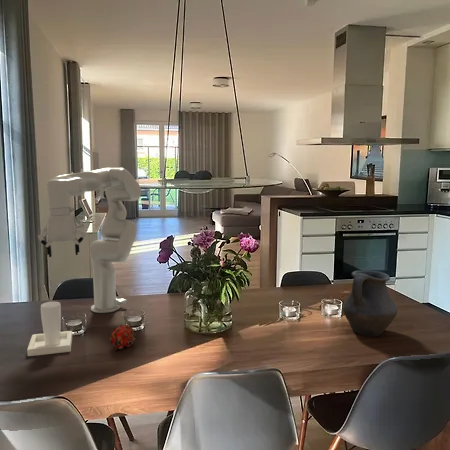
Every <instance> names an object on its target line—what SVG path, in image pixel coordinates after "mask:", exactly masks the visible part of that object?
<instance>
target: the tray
mask: <svg viewBox="0 0 450 450" xmlns="http://www.w3.org/2000/svg"><path fill="white" fill-rule="evenodd" d="M60 339H61V342H60V344H58V345H51V346H46V345H45V338H44V332H43V333H35V334H32V335H31V338H30V341H29V343H28V347H27V357H33V356H45V355H50V354H51V355H53V354H60V353H71V351H72V344H73V343H72V342H73V330H67V331H66V330H65V331H61V332H60Z"/></svg>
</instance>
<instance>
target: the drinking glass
mask: <svg viewBox="0 0 450 450" xmlns="http://www.w3.org/2000/svg"><path fill="white" fill-rule="evenodd" d="M40 317H41V325H42V330H43V333H44V338H45V345H46V346H51V345H58V344H60V342H61V339H60V332H62V331H61V330H62V329H61V327H62V306H61V302H60V301H59V302H58V301H47V302H44V303H42V304H40Z"/></svg>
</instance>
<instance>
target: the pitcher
mask: <svg viewBox="0 0 450 450" xmlns="http://www.w3.org/2000/svg"><path fill="white" fill-rule="evenodd" d="M351 276H352V277H353V281H352V284H351V285H352V286H351V288H352V289H351V291H350V293H349V295H348V297H347V298H346V300H345V301H344V303H343V306H342V311H343V315H344V316H345V318H346V319H347V321H348V323H349V325H350V328H351V330H352V332H354V333H355V334H358V335H360V336H363V337H368V338H370V337H371V338H372V337H379V336H381V335H382V334H383V333H384V332H385V331H386V329H387V328H388V327H389V326H390V325H391V324H392V323H393V321H394V319H395V318H396V317H397V314H398V310H399V309H398V306H397V304H396V302H395V301H394V300H393V299H392V297H391V295H390V292H389V290H388V289H389V288H388V286H387V284H386V283H387V282H388V281H390V280H391V277H390V275H389V274H387V273H385V272H383V271H377V270H364V269H363V270H354V271H352V272H351Z"/></svg>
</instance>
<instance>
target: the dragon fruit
mask: <svg viewBox="0 0 450 450" xmlns="http://www.w3.org/2000/svg"><path fill="white" fill-rule="evenodd" d="M134 335H135V329H134V328H133V327H132V326H130V324H124V325H123V324H119V326H118V327H114V328H113V330H112V331H111V333H110V336H109V339H110V343H111V344H112V346H113V347H114V348H115V351H118V350H122V349H124V348H125V347H126V348H129V347H130V346H132V344H133V343H134V341H135V340H136V338H137V337H136V336H134Z"/></svg>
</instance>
